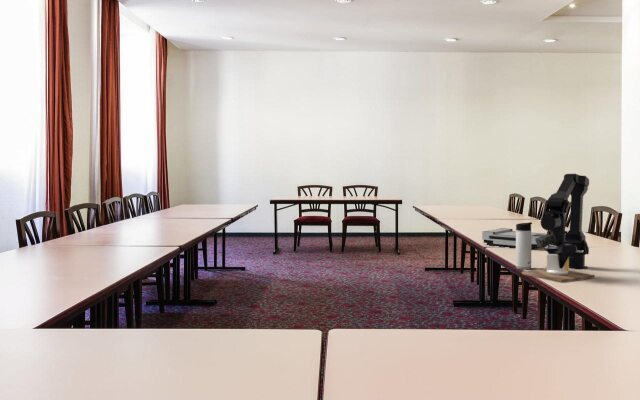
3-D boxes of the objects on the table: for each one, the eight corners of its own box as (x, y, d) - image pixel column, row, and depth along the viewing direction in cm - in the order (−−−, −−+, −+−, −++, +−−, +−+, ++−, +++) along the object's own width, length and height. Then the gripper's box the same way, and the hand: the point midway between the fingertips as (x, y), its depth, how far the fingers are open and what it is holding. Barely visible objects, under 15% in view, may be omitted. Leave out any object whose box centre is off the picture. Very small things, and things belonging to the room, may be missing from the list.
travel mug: (533, 269, 240) (533, 223, 239) (517, 269, 241) (516, 223, 240) (530, 267, 246) (530, 221, 245) (515, 267, 248) (514, 221, 246)
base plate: (554, 269, 239) (554, 267, 239) (594, 277, 221) (594, 274, 221) (521, 274, 231) (521, 271, 231) (561, 282, 213) (561, 279, 213)
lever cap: (546, 270, 231) (546, 252, 231) (568, 271, 228) (568, 253, 228) (546, 274, 224) (546, 255, 223) (569, 275, 221) (569, 256, 220)
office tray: (536, 251, 292) (536, 235, 291) (482, 246, 316) (482, 231, 315) (555, 247, 306) (555, 232, 305) (501, 242, 330) (501, 228, 329)
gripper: (527, 226, 233) (526, 263, 234) (550, 231, 215) (550, 271, 216) (552, 225, 235) (552, 263, 235) (577, 230, 216) (577, 270, 217)
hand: (557, 267), depth 226 cm, fingers closed on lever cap, 5 cm apart
